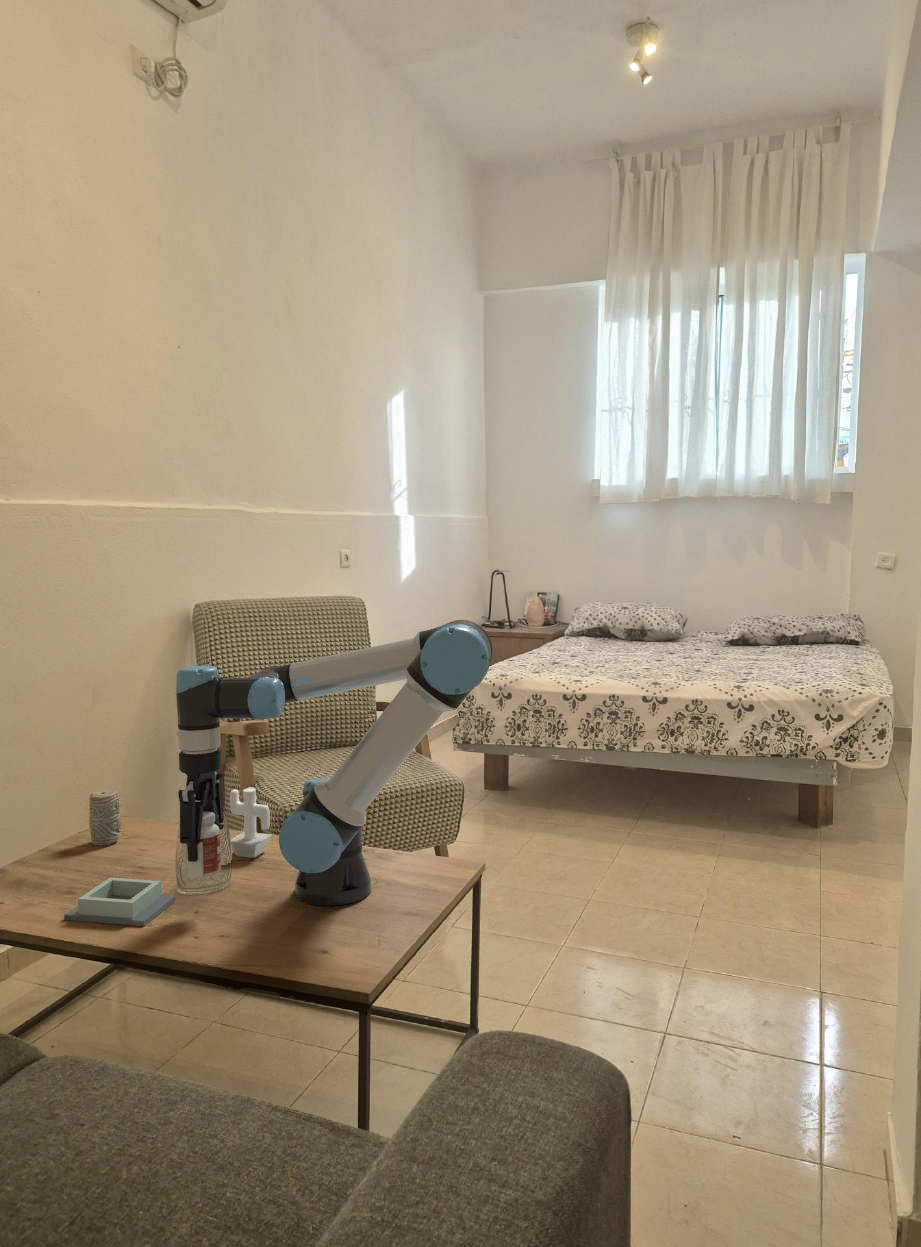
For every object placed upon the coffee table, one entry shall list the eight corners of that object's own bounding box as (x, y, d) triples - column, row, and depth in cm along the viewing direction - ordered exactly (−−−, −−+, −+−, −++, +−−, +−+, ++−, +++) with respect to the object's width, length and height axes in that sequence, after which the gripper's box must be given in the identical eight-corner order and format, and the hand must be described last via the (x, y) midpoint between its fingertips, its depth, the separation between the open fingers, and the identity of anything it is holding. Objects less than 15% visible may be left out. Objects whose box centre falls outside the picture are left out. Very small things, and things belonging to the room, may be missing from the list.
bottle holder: (175, 900, 176) (175, 881, 175) (144, 926, 164) (143, 905, 164) (100, 895, 178) (99, 875, 178) (64, 919, 167) (63, 899, 166)
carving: (83, 846, 207) (81, 795, 206) (104, 836, 214) (103, 787, 213) (107, 849, 205) (105, 797, 204) (127, 838, 212) (126, 789, 211)
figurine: (260, 861, 198) (260, 794, 197) (223, 856, 201) (222, 791, 199) (277, 850, 205) (276, 786, 203) (240, 846, 208) (239, 782, 206)
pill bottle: (225, 874, 168) (223, 816, 167) (192, 881, 165) (190, 822, 164) (215, 864, 173) (213, 808, 172) (183, 871, 170) (180, 813, 169)
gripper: (203, 738, 177) (207, 852, 179) (155, 761, 158) (160, 888, 160) (239, 738, 176) (243, 853, 178) (195, 762, 157) (200, 890, 159)
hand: (204, 869), depth 169 cm, fingers closed on pill bottle, 6 cm apart
